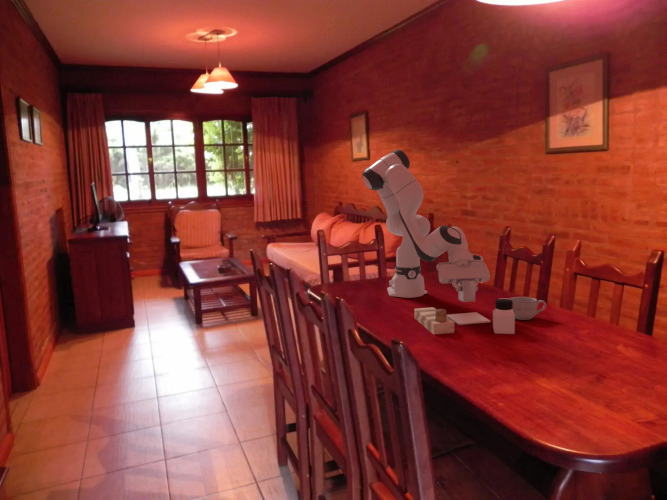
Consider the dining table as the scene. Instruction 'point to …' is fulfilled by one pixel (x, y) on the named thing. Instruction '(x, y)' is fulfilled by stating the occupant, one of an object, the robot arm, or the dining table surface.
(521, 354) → the dining table surface
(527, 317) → the teacup
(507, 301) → the medicine bottle
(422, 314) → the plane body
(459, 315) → the off-white pad
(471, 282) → the gray rectangular block
